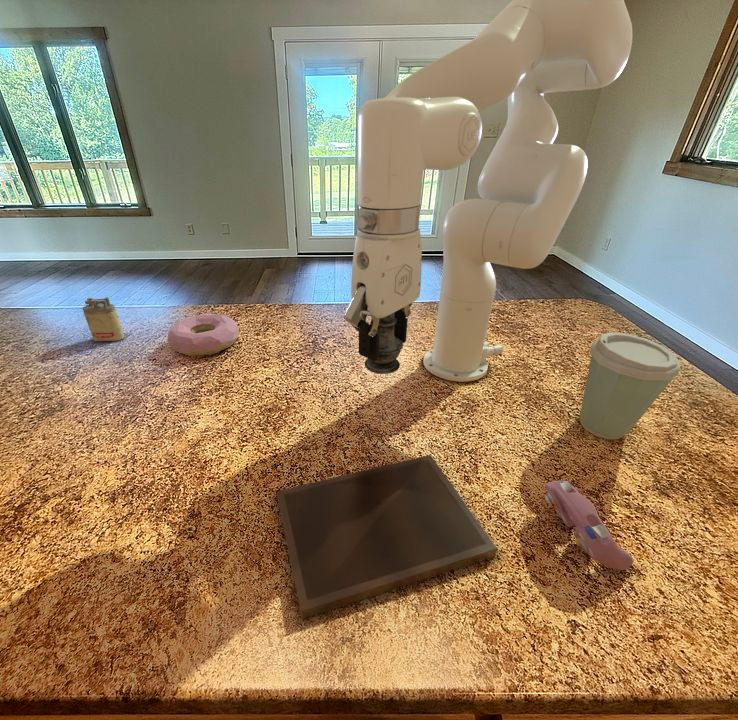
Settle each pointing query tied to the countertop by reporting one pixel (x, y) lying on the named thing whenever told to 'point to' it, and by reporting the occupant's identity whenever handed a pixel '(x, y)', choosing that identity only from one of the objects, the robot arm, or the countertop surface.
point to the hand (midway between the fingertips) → (382, 347)
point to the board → (376, 533)
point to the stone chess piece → (386, 348)
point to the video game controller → (587, 525)
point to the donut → (203, 334)
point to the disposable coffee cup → (623, 382)
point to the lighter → (103, 320)
